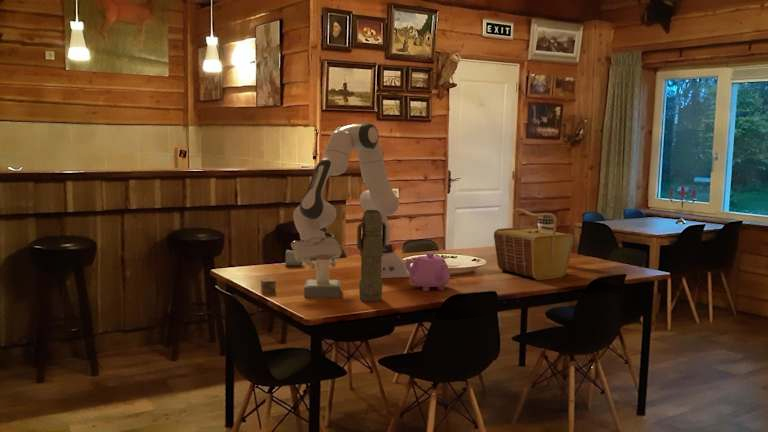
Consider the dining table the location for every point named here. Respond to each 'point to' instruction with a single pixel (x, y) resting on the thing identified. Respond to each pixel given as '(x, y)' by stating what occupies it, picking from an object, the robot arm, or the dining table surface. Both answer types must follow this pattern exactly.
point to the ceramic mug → (291, 259)
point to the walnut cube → (268, 286)
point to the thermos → (371, 255)
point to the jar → (322, 269)
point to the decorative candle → (545, 223)
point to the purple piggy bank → (428, 272)
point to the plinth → (322, 289)
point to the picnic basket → (533, 250)
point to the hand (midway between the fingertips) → (323, 267)
